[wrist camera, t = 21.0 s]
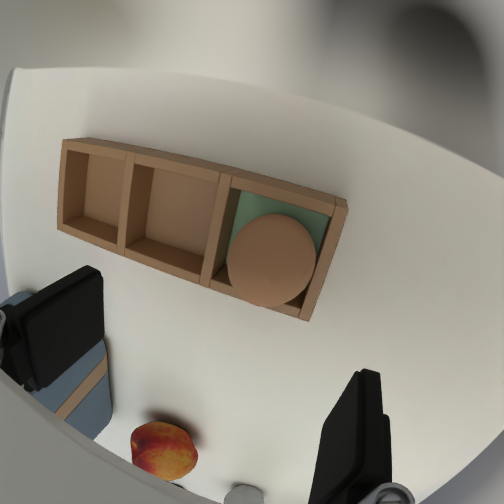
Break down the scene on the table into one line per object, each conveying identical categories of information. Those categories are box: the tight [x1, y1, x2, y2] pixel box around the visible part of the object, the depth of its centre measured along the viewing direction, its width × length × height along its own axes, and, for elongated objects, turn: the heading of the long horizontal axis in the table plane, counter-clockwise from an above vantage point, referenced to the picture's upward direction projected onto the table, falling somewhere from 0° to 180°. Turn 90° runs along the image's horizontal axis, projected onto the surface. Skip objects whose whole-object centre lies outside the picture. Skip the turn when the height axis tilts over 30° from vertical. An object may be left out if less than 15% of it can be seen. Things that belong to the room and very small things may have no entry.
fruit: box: [131, 421, 198, 481], centre depth 31 cm, size 8×8×8 cm
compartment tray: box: [57, 138, 348, 322], centre depth 23 cm, size 23×8×3 cm, turn 77°
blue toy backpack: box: [0, 291, 112, 440], centre depth 28 cm, size 16×16×16 cm
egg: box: [227, 214, 316, 307], centre depth 19 cm, size 5×5×8 cm
